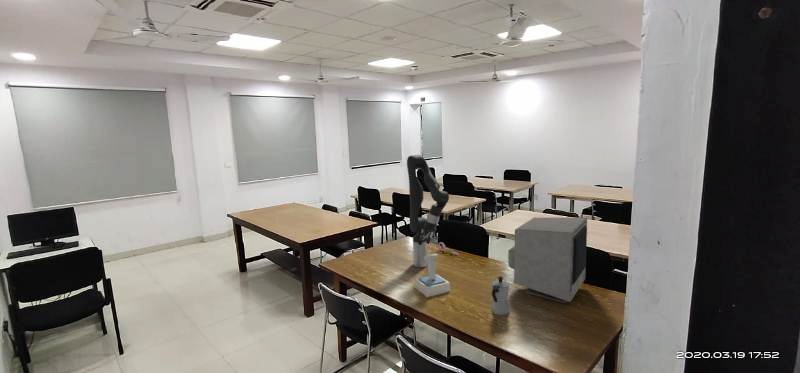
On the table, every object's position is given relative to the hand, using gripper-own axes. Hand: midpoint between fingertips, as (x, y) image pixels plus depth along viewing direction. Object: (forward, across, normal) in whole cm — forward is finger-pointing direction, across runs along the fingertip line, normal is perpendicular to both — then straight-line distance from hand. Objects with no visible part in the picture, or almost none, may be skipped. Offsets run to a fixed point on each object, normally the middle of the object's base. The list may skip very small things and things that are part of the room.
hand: (423, 244), depth 233 cm
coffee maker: (+3, +17, +64) cm, 66 cm away
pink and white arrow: (+15, -47, -4) cm, 50 cm away
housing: (+16, +12, +23) cm, 31 cm away
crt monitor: (-6, -20, +72) cm, 75 cm away
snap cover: (+12, +13, +22) cm, 28 cm away
